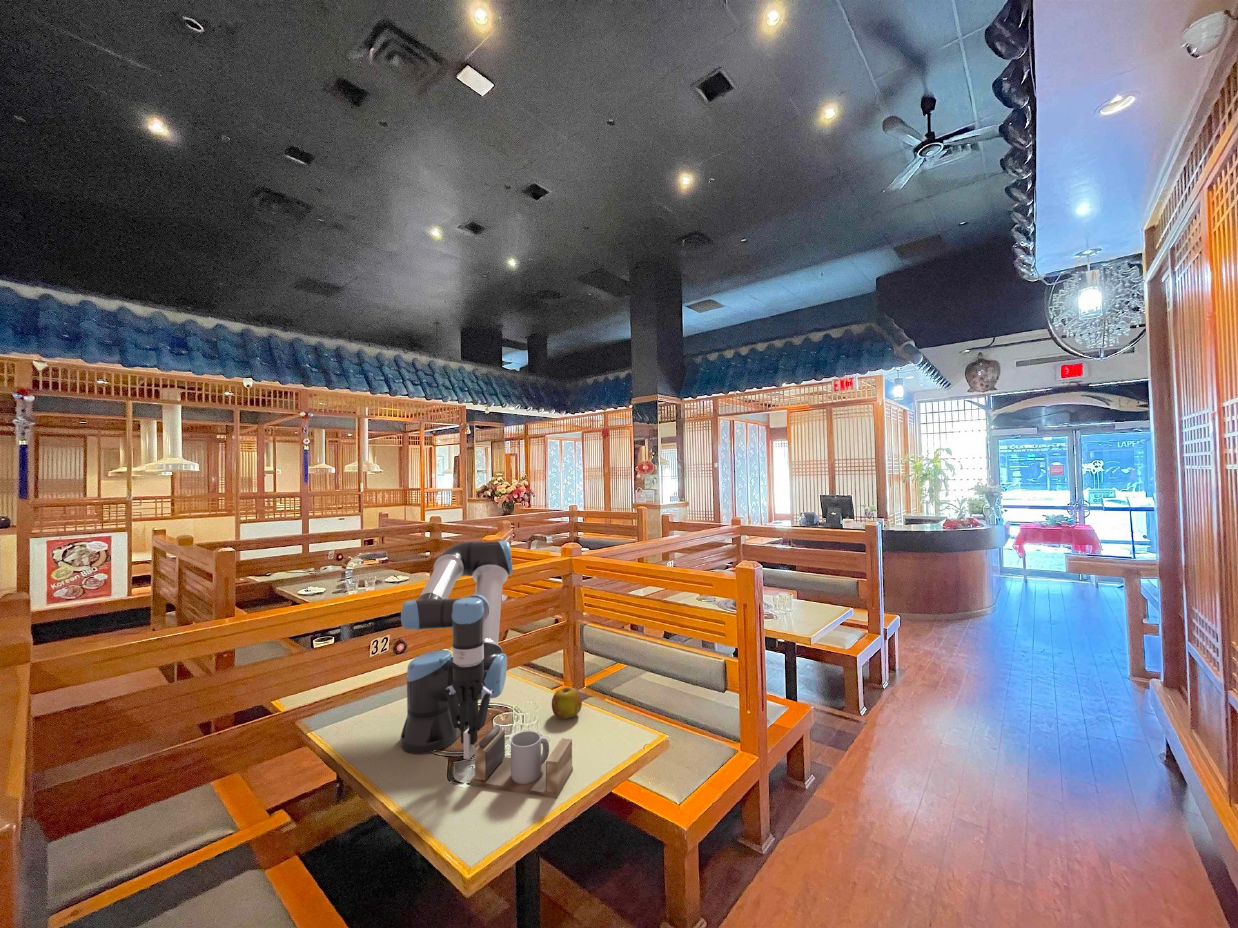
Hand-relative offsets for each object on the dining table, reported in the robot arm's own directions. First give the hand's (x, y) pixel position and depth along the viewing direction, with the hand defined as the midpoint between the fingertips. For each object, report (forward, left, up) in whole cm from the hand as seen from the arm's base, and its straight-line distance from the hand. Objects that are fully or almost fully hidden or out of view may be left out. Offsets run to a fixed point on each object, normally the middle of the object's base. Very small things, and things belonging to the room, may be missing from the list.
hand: (469, 755), depth 126 cm
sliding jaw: (+6, 0, -2) cm, 6 cm away
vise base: (+14, 0, -4) cm, 15 cm away
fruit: (+14, +32, -4) cm, 35 cm away
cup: (+16, +1, -3) cm, 17 cm away
